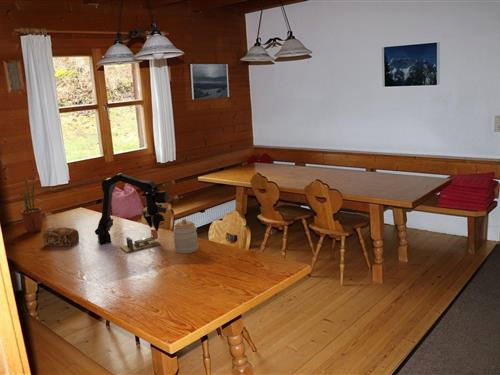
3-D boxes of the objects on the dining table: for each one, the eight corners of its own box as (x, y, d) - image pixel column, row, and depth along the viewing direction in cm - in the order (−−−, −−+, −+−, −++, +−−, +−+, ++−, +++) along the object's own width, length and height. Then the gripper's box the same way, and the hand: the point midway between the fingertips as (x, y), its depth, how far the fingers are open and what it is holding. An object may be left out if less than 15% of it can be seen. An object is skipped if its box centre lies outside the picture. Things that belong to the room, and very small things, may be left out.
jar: (194, 254, 259) (191, 222, 255) (171, 253, 262) (168, 222, 258) (201, 245, 271) (198, 215, 268) (179, 245, 274) (176, 216, 270)
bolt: (135, 244, 274) (134, 235, 273) (134, 243, 276) (133, 234, 275) (158, 239, 281) (157, 230, 280) (156, 238, 283) (155, 229, 282)
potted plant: (24, 230, 328) (15, 180, 321) (48, 226, 334) (40, 177, 327) (24, 237, 312) (14, 184, 305) (49, 232, 319) (41, 181, 311)
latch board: (126, 253, 267) (125, 242, 266) (120, 248, 277) (119, 237, 275) (160, 245, 278) (159, 234, 276) (153, 240, 287) (152, 230, 285)
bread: (43, 246, 291) (40, 230, 289) (54, 240, 301) (51, 225, 299) (70, 246, 287) (68, 230, 285) (80, 240, 297) (78, 225, 295)
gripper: (170, 203, 273) (173, 229, 276) (158, 198, 288) (160, 223, 292) (151, 207, 267) (155, 233, 271) (140, 201, 283) (143, 227, 286)
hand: (154, 229), depth 280 cm, fingers open, 9 cm apart
